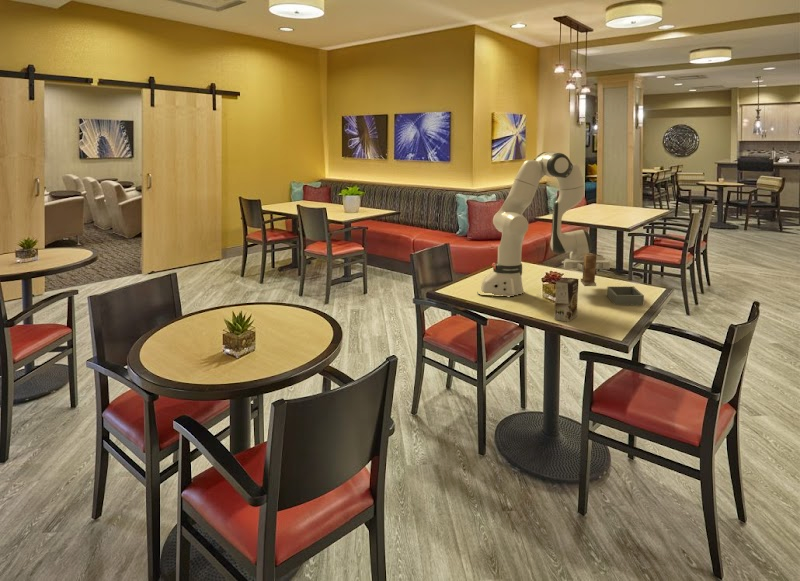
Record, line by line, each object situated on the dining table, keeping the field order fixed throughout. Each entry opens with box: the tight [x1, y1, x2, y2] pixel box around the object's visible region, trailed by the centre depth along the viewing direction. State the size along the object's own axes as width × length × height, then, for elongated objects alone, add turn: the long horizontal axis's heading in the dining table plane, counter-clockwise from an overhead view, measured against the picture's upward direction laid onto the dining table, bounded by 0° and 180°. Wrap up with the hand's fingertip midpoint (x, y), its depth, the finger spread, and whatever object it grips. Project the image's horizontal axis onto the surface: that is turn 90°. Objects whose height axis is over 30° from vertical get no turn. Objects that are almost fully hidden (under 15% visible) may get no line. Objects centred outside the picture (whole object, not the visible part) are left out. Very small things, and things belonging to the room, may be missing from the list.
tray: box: [606, 285, 645, 306], centre depth 251 cm, size 12×16×4 cm
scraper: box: [580, 253, 597, 287], centre depth 253 cm, size 5×9×13 cm, turn 174°
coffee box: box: [553, 277, 579, 323], centre depth 228 cm, size 9×6×16 cm
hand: (589, 267), depth 251 cm, fingers closed on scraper, 4 cm apart
